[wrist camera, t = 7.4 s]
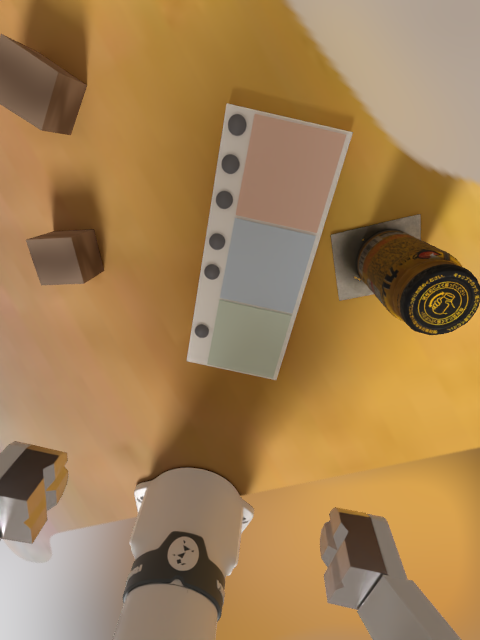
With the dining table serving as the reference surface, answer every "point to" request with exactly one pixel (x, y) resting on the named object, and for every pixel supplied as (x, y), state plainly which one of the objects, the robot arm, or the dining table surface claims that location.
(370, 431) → the dining table surface
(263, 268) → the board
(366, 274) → the condiment
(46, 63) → the walnut block
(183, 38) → the dining table surface
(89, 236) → the walnut block
